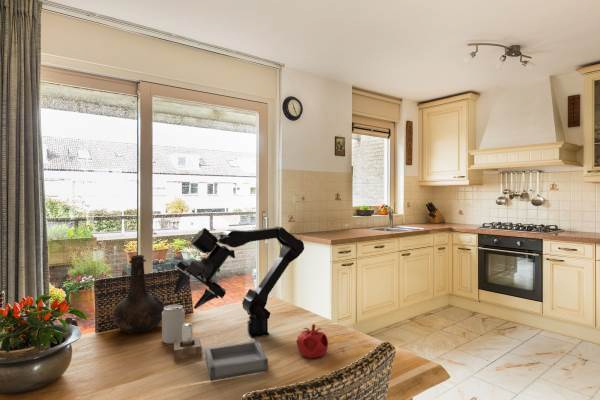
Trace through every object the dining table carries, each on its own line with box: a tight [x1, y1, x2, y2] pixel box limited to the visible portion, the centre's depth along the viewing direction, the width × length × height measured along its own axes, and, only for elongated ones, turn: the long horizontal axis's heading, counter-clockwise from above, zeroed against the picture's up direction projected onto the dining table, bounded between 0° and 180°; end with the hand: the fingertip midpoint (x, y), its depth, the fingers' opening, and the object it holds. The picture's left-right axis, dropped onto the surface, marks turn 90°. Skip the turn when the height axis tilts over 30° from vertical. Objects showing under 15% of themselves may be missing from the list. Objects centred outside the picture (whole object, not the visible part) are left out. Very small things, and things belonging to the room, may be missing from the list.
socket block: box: [173, 336, 203, 361], centre depth 117 cm, size 8×8×4 cm
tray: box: [205, 340, 269, 382], centre depth 109 cm, size 16×14×4 cm
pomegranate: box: [295, 323, 329, 359], centre depth 116 cm, size 10×10×9 cm
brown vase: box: [112, 254, 165, 334], centre depth 139 cm, size 18×18×28 cm
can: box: [161, 304, 186, 345], centre depth 128 cm, size 8×8×12 cm
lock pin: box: [182, 322, 194, 347], centre depth 117 cm, size 3×3×9 cm
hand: (184, 300), depth 120 cm, fingers open, 9 cm apart
